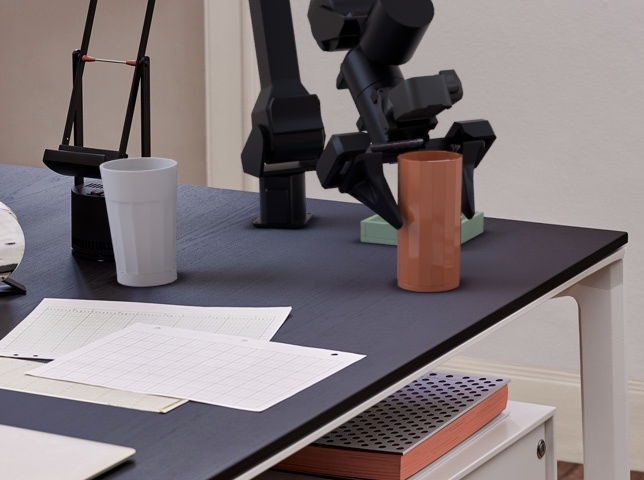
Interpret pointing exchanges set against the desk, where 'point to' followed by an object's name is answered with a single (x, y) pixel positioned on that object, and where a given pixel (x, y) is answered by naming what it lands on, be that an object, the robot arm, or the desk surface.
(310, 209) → the desk surface
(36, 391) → the desk surface
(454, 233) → the tumbler
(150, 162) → the cup
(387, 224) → the tray
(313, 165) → the robot arm
